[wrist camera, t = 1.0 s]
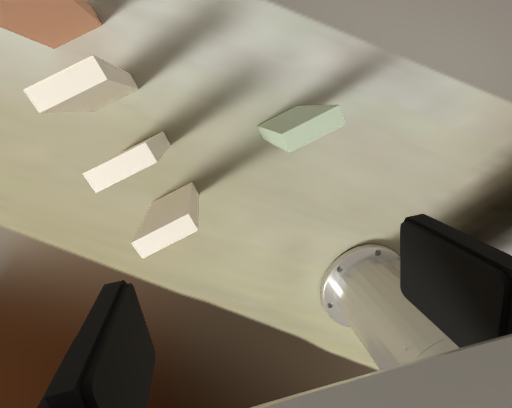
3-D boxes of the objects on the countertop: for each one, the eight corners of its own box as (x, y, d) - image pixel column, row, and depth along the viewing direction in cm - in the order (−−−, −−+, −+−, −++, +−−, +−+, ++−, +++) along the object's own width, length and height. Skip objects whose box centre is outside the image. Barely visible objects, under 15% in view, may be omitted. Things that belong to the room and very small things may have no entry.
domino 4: (198, 194, 35) (198, 230, 24) (159, 213, 35) (142, 258, 24) (191, 181, 34) (188, 213, 24) (152, 202, 34) (131, 242, 24)
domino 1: (102, 24, 28) (45, -23, 18) (54, 48, 28) (-31, 14, 18) (91, 6, 28) (27, -54, 18) (42, 31, 28) (-51, -15, 17)
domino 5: (302, 119, 34) (346, 124, 24) (262, 139, 34) (290, 152, 24) (296, 105, 34) (339, 104, 23) (256, 126, 34) (281, 134, 23)
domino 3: (170, 145, 33) (157, 162, 22) (129, 166, 33) (95, 193, 22) (163, 131, 32) (145, 142, 22) (120, 152, 32) (82, 173, 22)
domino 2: (138, 89, 31) (107, 79, 20) (94, 111, 30) (39, 113, 20) (129, 73, 30) (92, 55, 20) (84, 96, 30) (22, 89, 20)
